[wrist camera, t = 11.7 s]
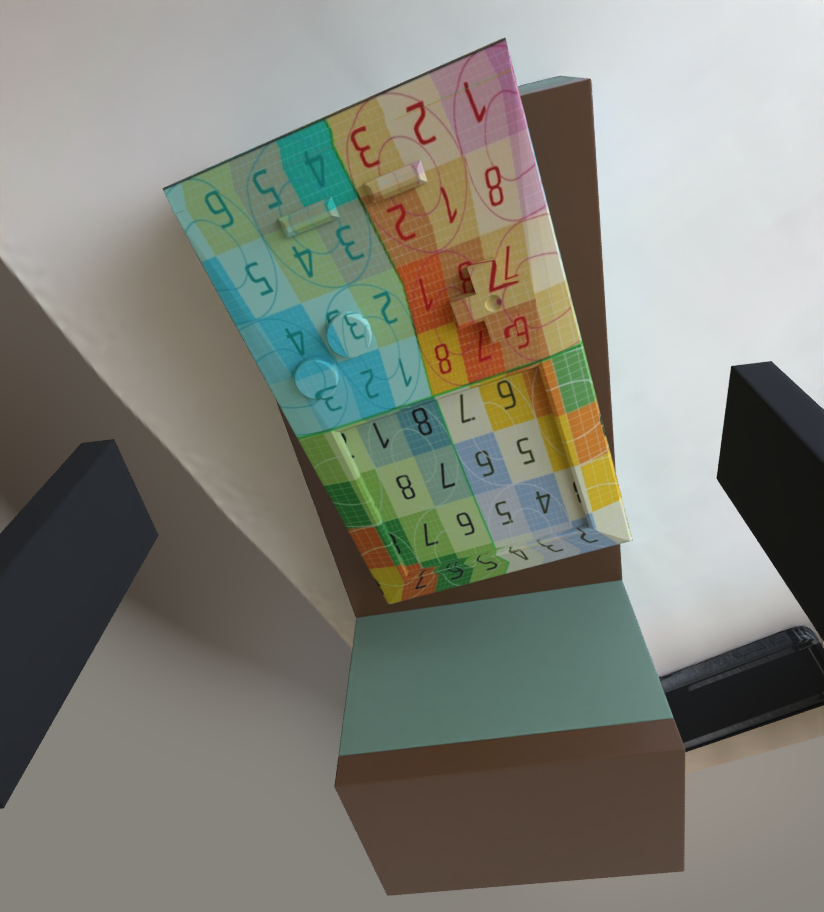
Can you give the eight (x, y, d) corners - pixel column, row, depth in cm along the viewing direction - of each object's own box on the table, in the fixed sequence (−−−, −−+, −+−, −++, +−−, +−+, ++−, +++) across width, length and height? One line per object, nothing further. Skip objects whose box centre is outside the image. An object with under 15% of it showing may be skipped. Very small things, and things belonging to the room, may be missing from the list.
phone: (847, 697, 46) (653, 763, 51) (839, 684, 47) (649, 750, 52) (815, 633, 43) (610, 710, 48) (807, 620, 44) (607, 697, 49)
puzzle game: (508, 36, 18) (638, 554, 27) (494, 41, 22) (611, 492, 31) (151, 193, 20) (387, 619, 30) (197, 172, 24) (392, 553, 34)
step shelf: (233, 156, 29) (65, 236, 16) (561, 75, 27) (691, 88, 14) (399, 653, 47) (387, 896, 33) (606, 625, 45) (684, 871, 31)
